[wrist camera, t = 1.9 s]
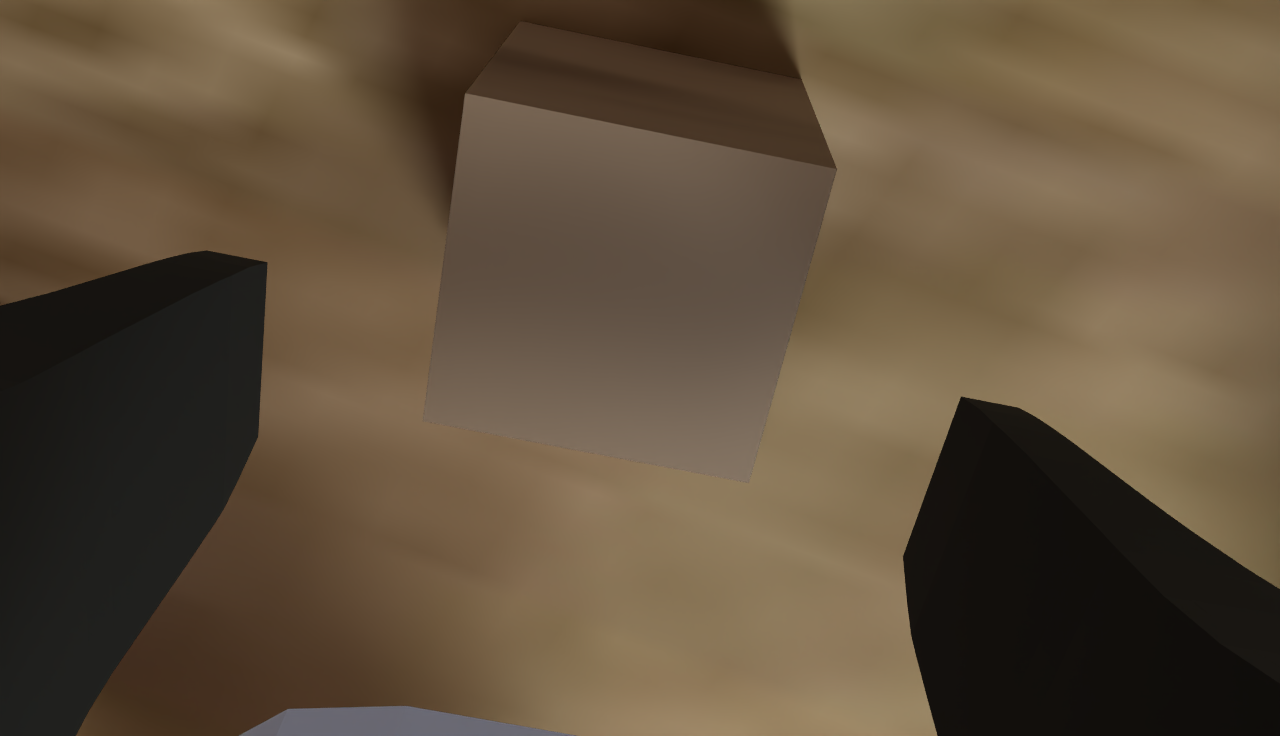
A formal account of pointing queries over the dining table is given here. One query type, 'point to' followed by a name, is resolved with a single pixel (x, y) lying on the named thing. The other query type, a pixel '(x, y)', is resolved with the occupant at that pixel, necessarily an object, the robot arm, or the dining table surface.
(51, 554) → the robot arm
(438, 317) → the walnut block
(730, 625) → the dining table surface
